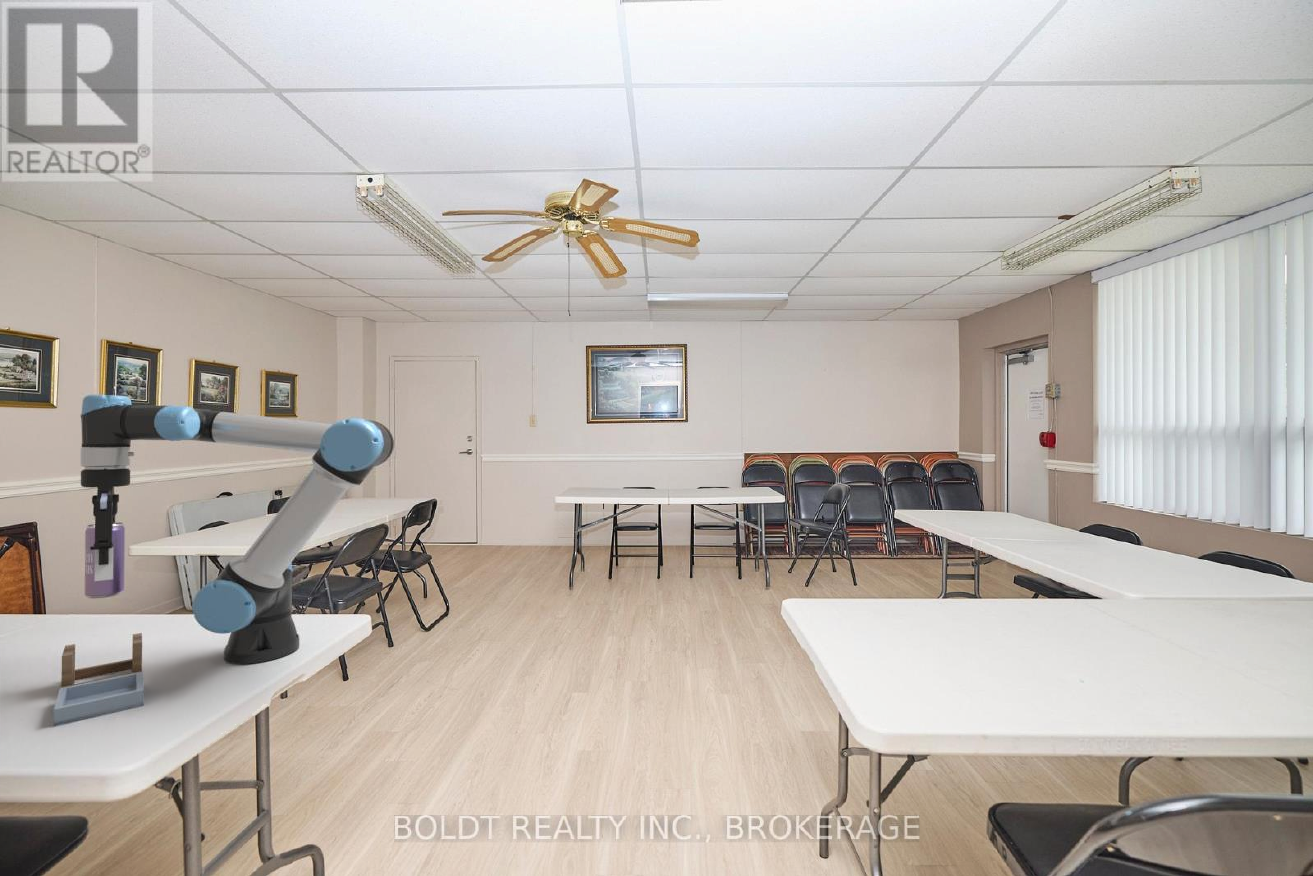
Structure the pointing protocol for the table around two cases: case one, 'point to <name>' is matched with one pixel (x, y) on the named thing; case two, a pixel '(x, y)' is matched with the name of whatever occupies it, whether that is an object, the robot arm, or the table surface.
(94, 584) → the beverage can
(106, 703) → the tray
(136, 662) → the bracket
